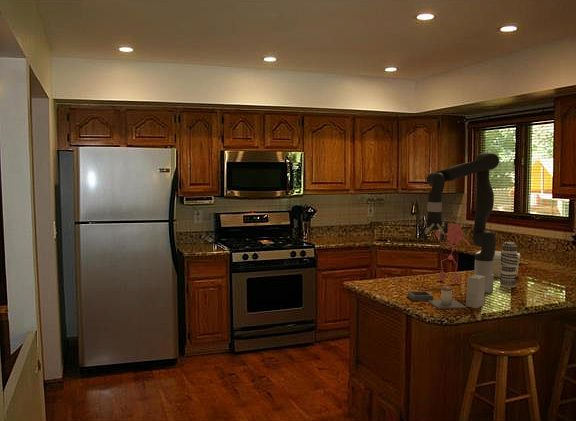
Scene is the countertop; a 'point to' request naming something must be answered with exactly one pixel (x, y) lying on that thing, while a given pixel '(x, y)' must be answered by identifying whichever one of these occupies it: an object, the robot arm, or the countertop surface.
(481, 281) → the skincare box
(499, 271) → the storage basket
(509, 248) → the decorative candle
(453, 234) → the figurine
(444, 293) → the cream jar
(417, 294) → the grey holder
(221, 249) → the countertop surface
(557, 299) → the countertop surface
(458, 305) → the slate tile
